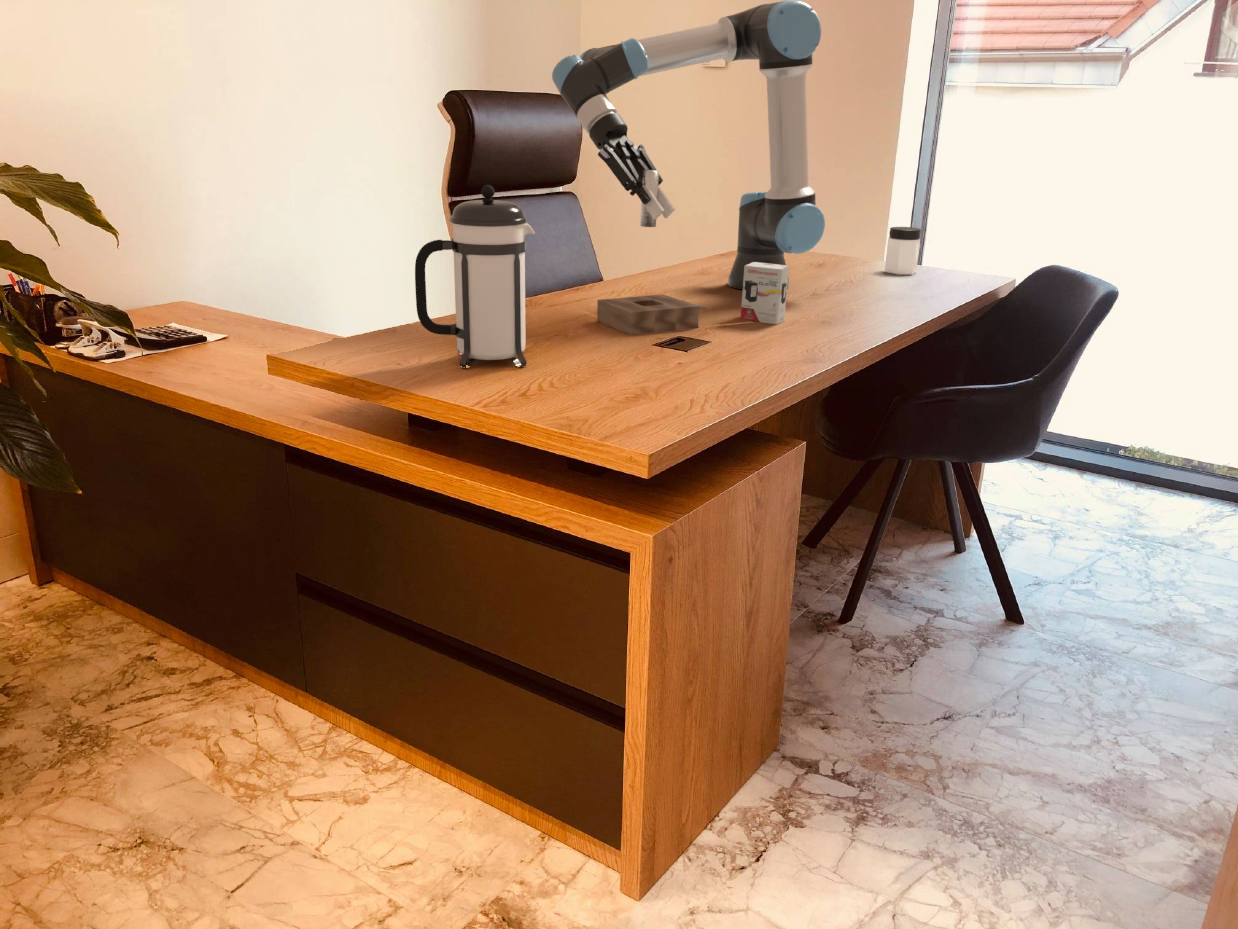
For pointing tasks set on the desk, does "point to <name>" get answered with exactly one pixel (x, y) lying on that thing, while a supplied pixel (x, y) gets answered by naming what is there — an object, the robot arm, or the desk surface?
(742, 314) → the ink box
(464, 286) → the coffee press
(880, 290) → the desk surface
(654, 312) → the hole block
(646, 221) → the silver rounded cylinder
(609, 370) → the desk surface
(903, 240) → the jar
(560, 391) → the desk surface
